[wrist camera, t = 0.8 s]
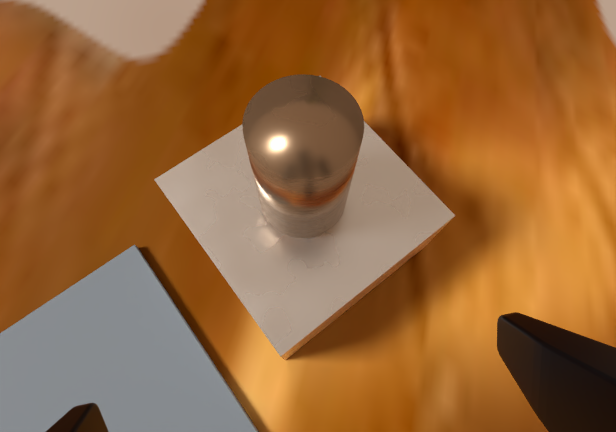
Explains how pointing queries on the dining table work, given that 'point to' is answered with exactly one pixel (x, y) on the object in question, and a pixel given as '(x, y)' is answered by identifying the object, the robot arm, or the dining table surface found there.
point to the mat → (114, 360)
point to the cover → (303, 207)
